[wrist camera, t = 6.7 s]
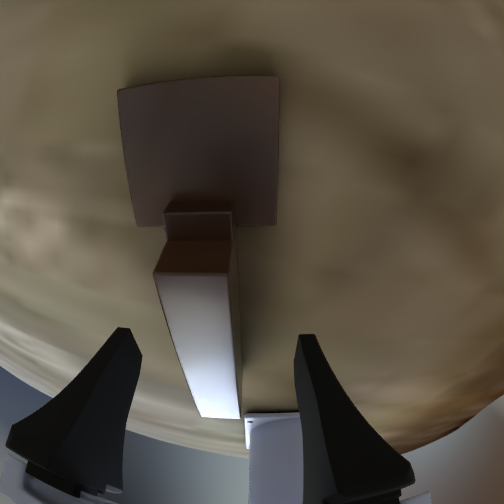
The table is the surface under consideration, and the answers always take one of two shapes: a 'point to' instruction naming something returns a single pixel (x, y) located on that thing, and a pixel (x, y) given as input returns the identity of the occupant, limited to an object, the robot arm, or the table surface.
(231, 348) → the spatula
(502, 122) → the table surface
